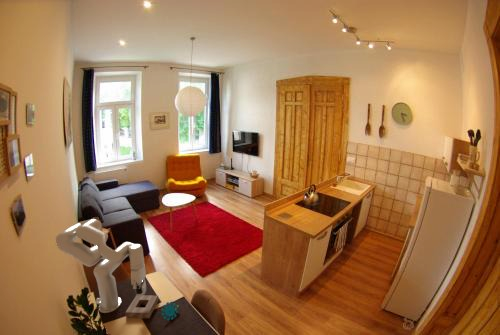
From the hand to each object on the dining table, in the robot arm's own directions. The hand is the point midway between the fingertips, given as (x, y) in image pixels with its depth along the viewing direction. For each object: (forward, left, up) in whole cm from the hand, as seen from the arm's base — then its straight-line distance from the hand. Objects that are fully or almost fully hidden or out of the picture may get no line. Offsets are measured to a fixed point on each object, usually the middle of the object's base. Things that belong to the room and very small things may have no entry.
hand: (141, 290), depth 155 cm
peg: (0, 0, -2) cm, 2 cm away
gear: (+19, -4, -14) cm, 24 cm away
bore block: (0, 0, -14) cm, 14 cm away
